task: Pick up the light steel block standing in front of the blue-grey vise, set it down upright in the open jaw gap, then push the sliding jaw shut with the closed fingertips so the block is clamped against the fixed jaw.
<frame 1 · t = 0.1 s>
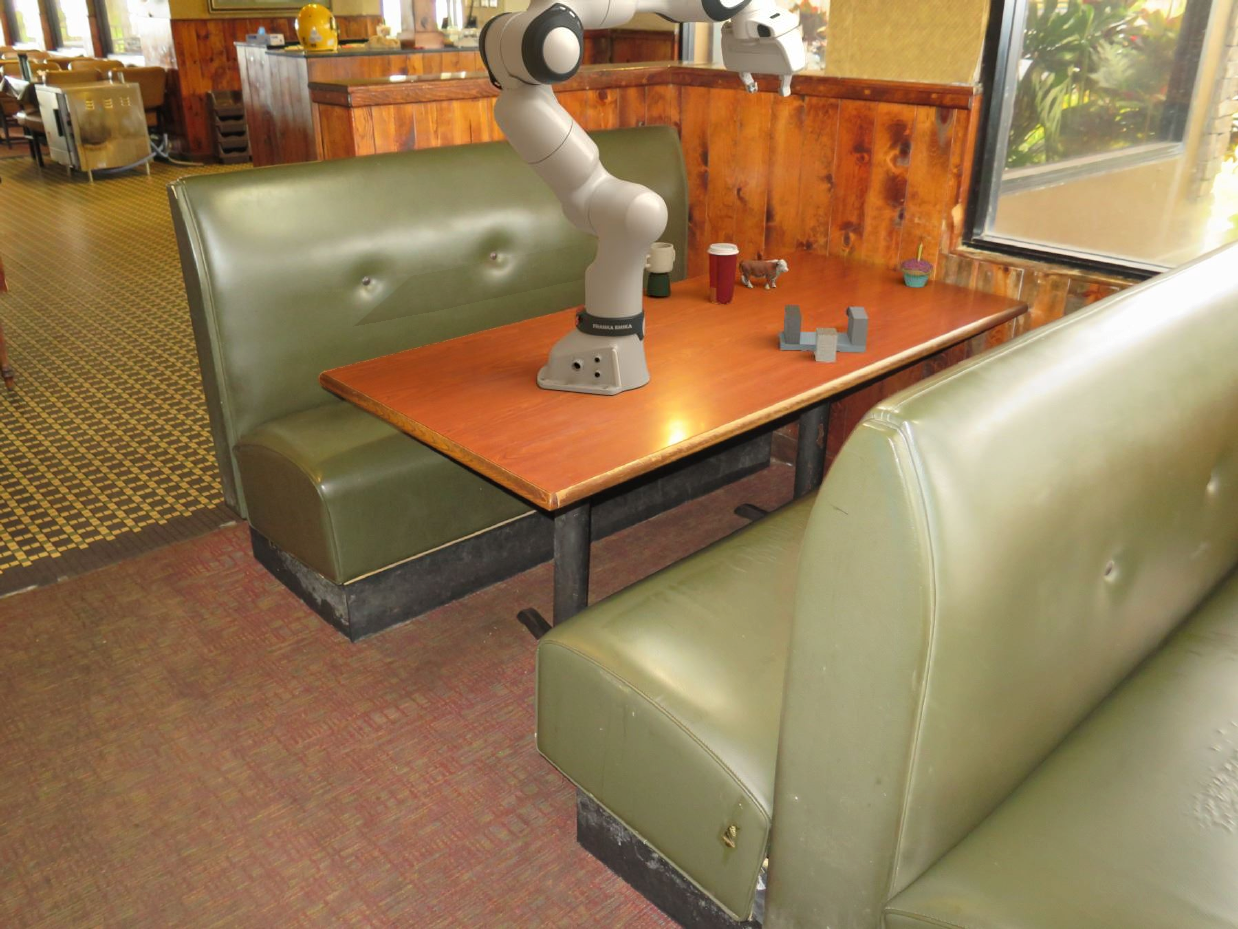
hand: (768, 93, 198), 52 cm above the table, tool tilted 20°, fingers open, 8 cm apart
jaw: (792, 324, 218), point 5 cm above the table, slide at 7.0 cm
vise base: (820, 345, 220), on the table
paper cup: (720, 302, 252), on the table
block: (824, 358, 212), on the table
bull figurine: (763, 288, 264), on the table
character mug: (658, 296, 257), on the table
cupcake: (914, 285, 265), on the table
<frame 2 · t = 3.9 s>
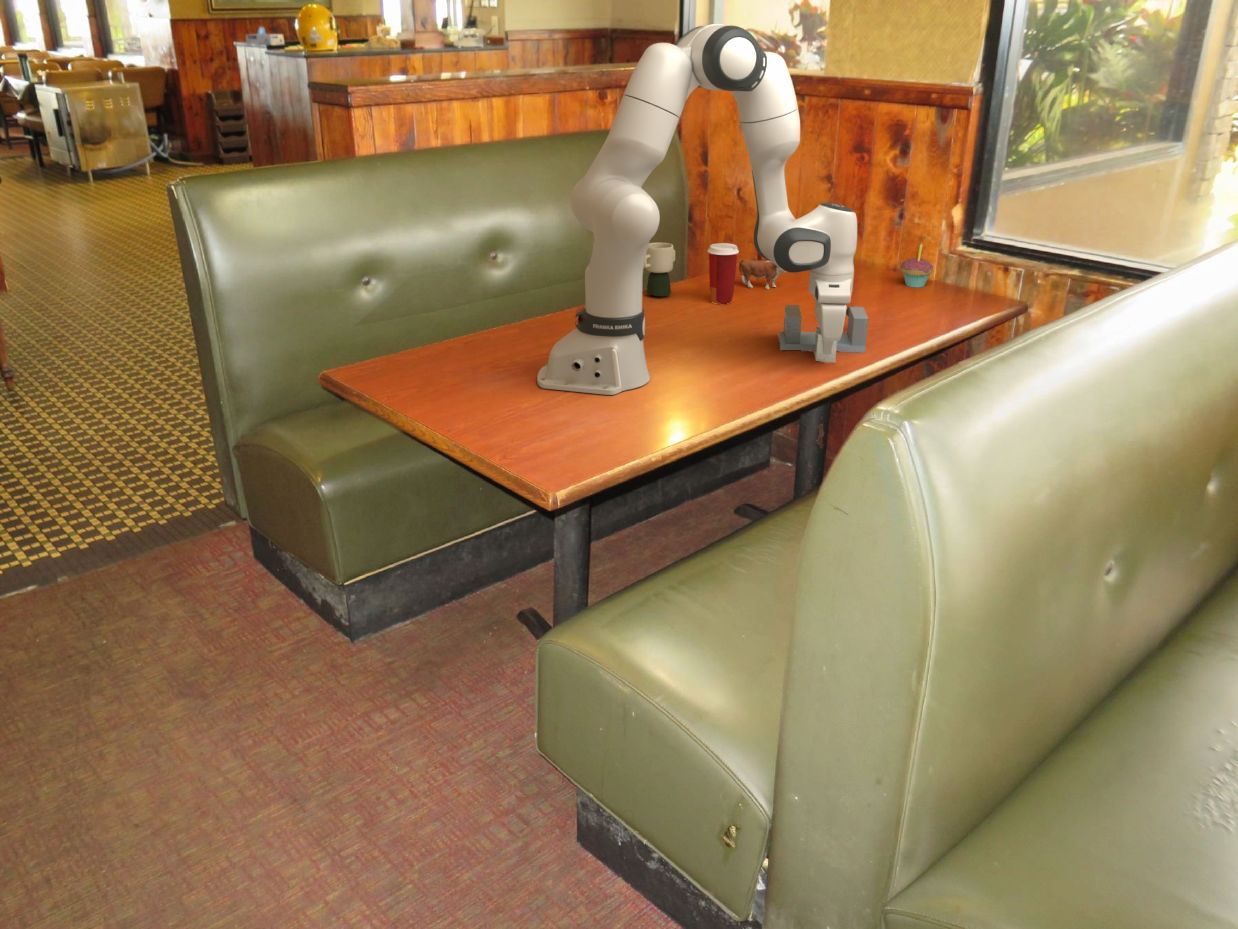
hand: (825, 348, 211), 2 cm above the table, tool pointing down, fingers closed on block, 5 cm apart
block: (824, 358, 212), on the table, touching gripper
everything else where it was.
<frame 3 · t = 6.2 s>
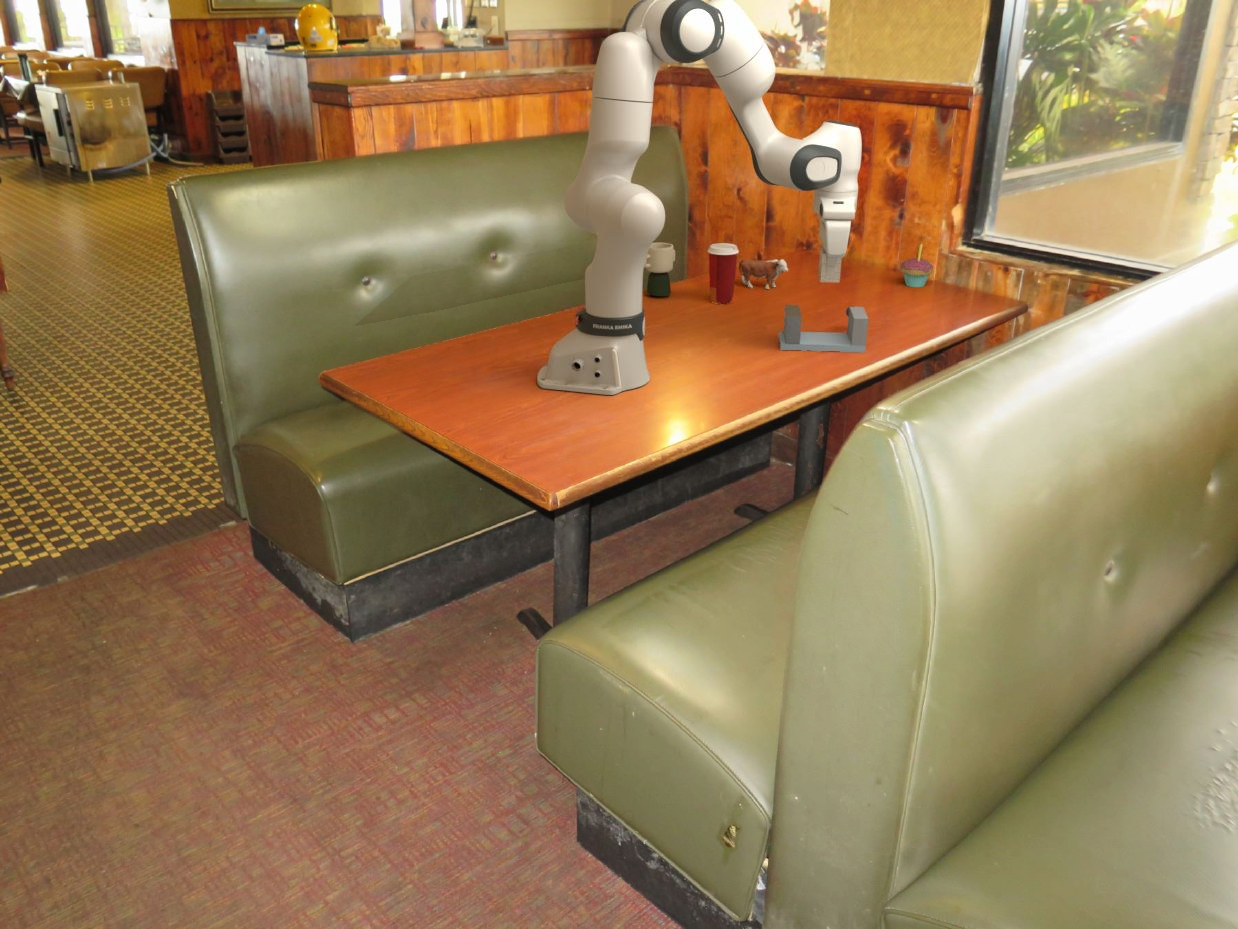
hand: (829, 269, 212), 17 cm above the table, tool pointing down, fingers closed on block, 5 cm apart
block: (828, 279, 213), point 15 cm above the table, touching gripper
everything else where it was.
when the fingers open (5 cm above the table, at t = 8.8 s): block stays where it is, resting on vise base.
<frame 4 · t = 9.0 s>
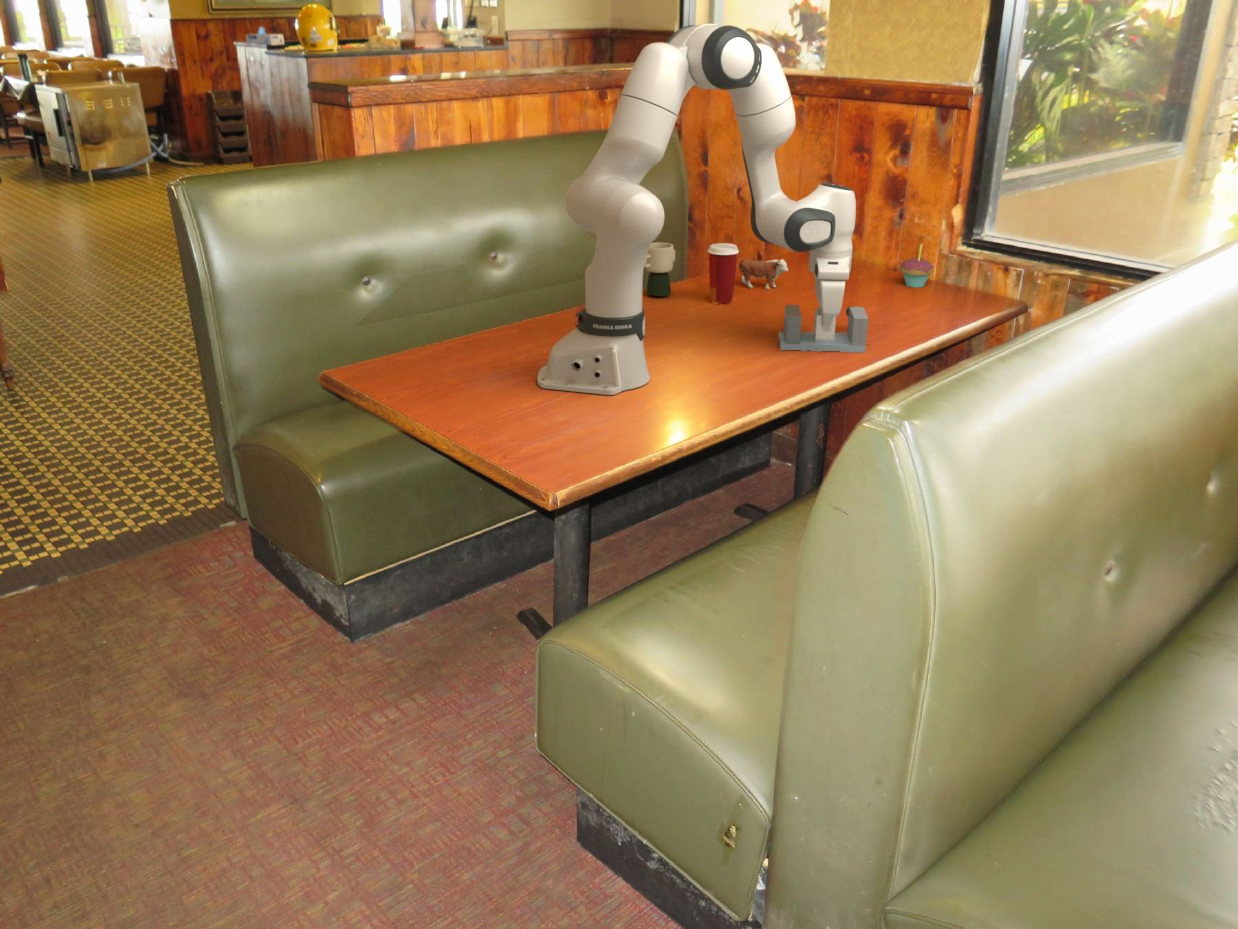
hand: (824, 324, 218), 5 cm above the table, tool pointing down, fingers open, 7 cm apart
block: (823, 338, 219), point 1 cm above the table, touching vise base
everything else where it was.
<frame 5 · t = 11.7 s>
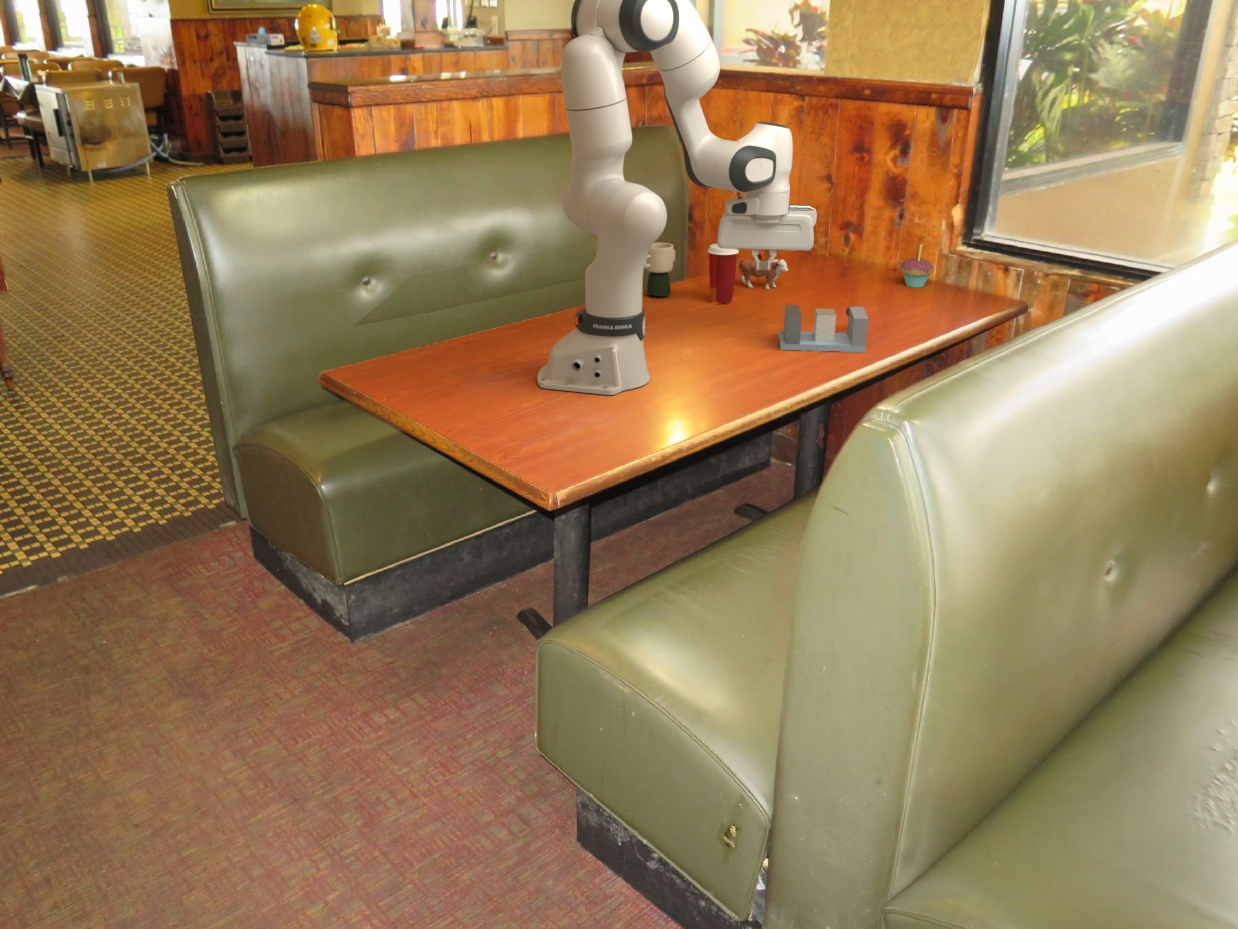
hand: (762, 269, 214), 16 cm above the table, tool pointing down, fingers closed
nothing on the table moved.
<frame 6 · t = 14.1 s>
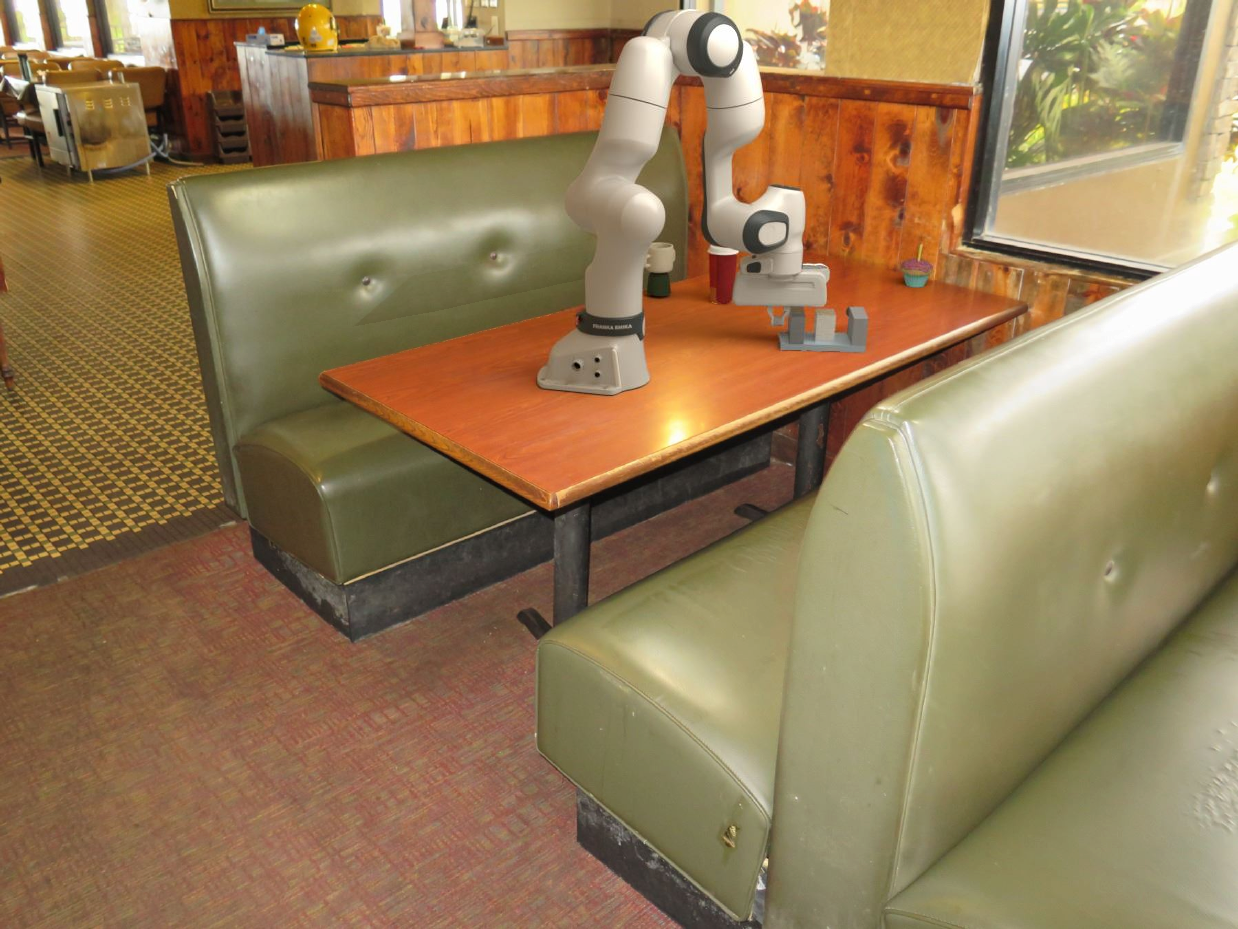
hand: (777, 325, 219), 4 cm above the table, tool pointing down, fingers closed
jaw: (796, 324, 218), point 5 cm above the table, slide at 6.2 cm, touching gripper
everything else where it was.
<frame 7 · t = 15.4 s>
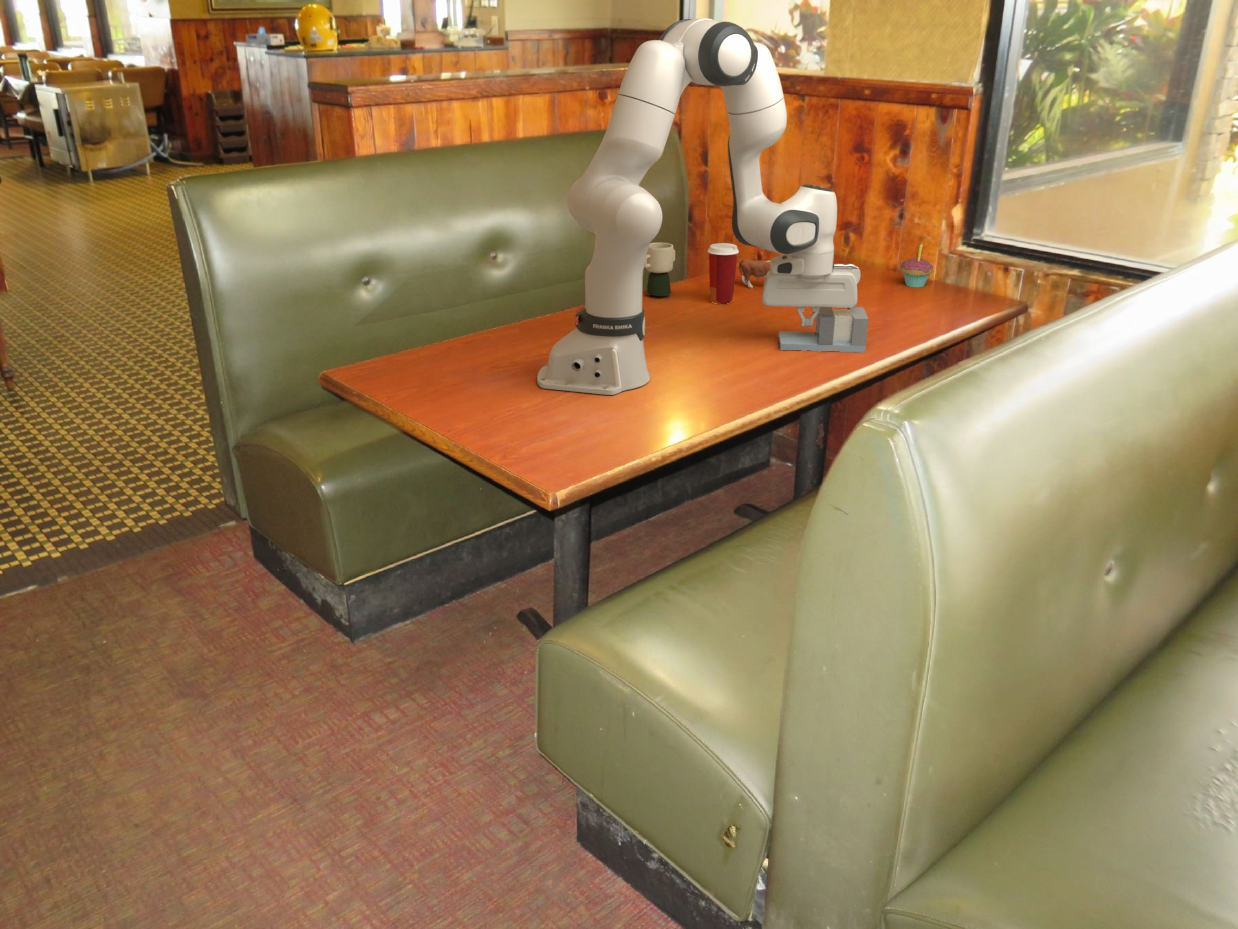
hand: (807, 325, 218), 4 cm above the table, tool pointing down, fingers closed
jaw: (824, 324, 218), point 5 cm above the table, slide at 0.0 cm, touching block, gripper
block: (839, 339, 219), point 1 cm above the table, touching jaw, vise base
everything else where it was.
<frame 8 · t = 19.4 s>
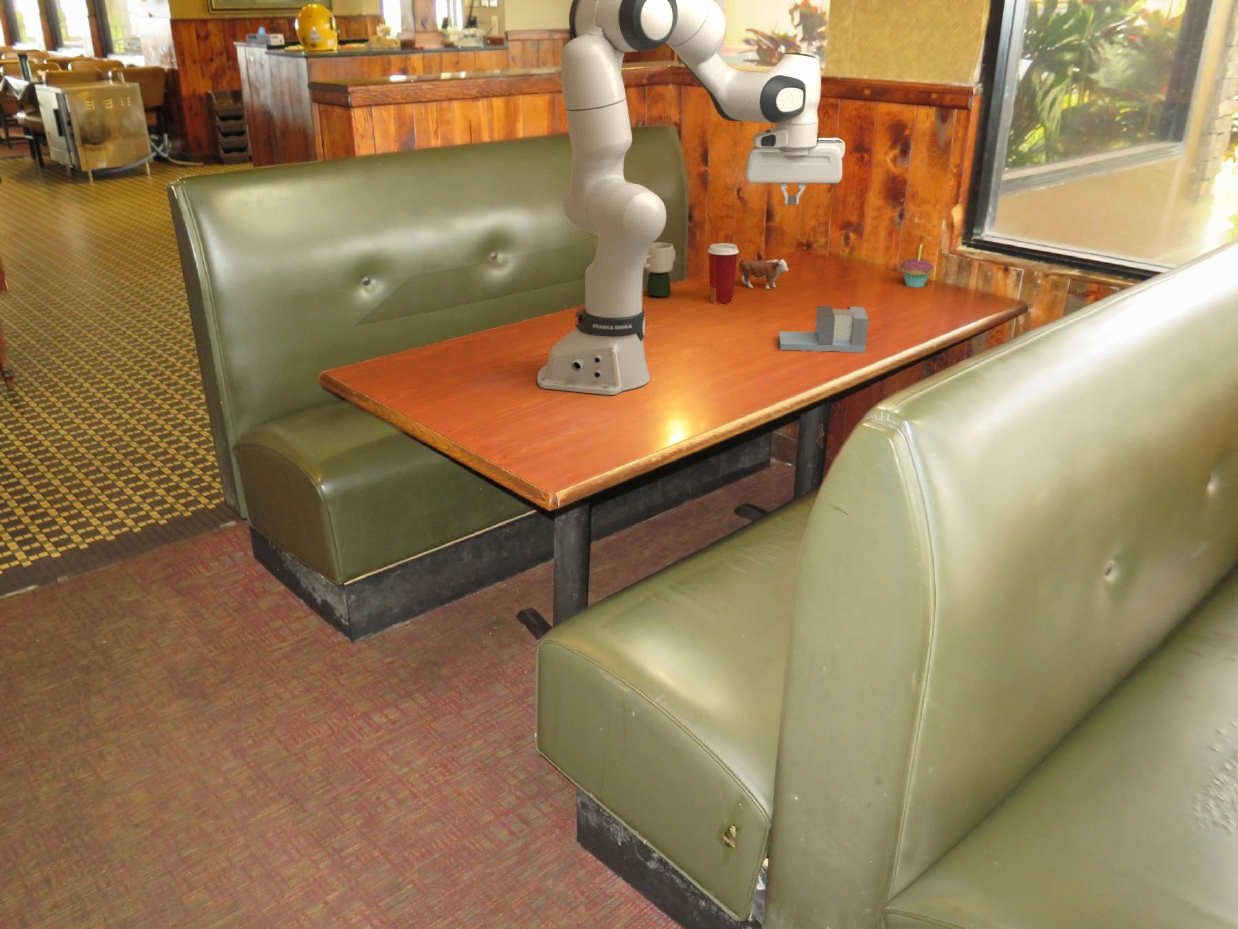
hand: (791, 204, 214), 29 cm above the table, tool pointing down, fingers closed
jaw: (824, 324, 218), point 5 cm above the table, slide at 0.0 cm, touching block
everything else where it was.
at the end: block 0.1 cm from the target spot, point 1.5 cm above the table; block tilted 0°; jaw slide at 0.0 cm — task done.
